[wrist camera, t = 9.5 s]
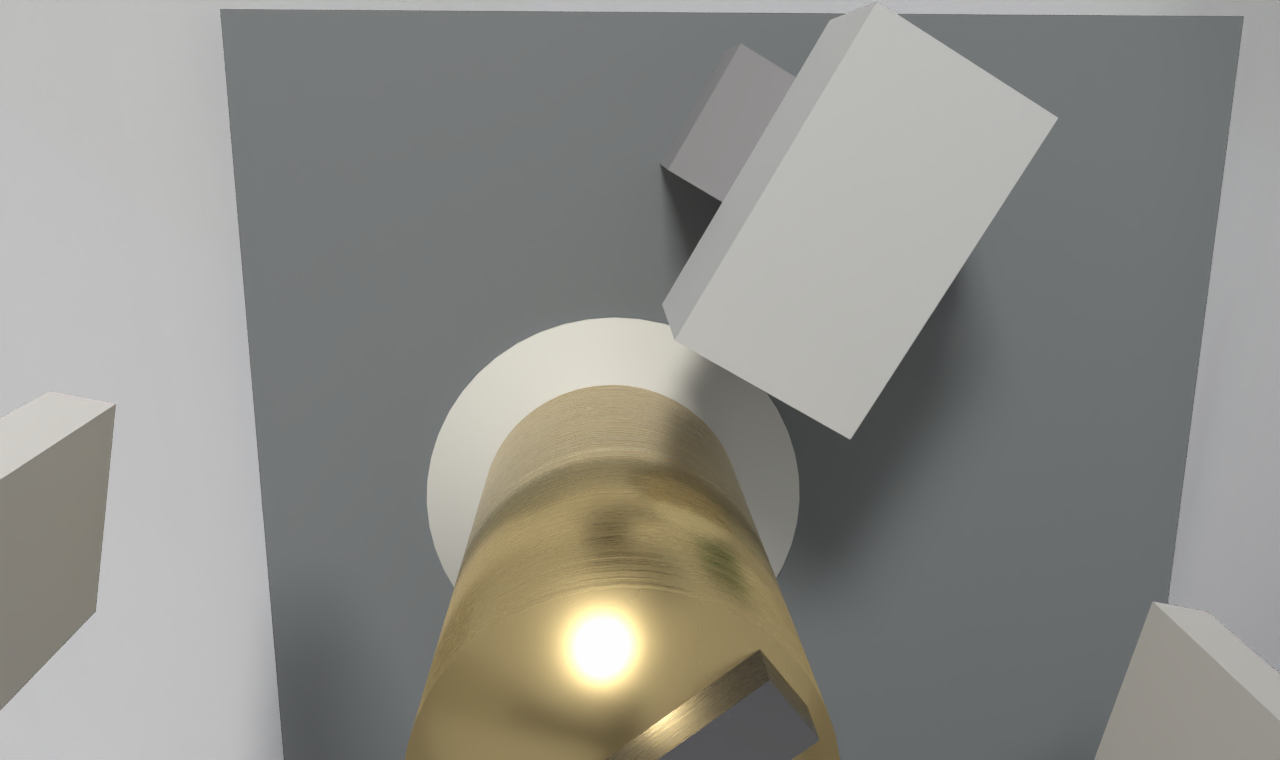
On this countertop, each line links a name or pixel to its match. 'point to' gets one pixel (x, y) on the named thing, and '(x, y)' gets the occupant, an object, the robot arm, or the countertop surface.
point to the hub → (617, 603)
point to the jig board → (580, 221)
